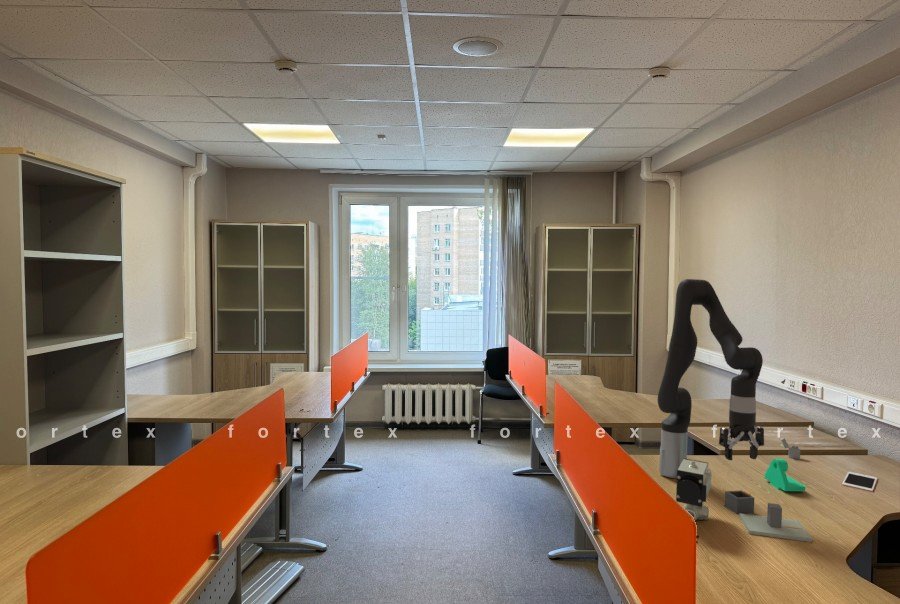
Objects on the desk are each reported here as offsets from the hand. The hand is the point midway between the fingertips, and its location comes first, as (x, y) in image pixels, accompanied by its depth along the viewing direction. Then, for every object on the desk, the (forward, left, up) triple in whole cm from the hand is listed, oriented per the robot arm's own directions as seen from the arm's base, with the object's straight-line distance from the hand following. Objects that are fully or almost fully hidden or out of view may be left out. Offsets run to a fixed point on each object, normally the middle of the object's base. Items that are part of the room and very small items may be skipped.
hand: (741, 459), depth 171 cm
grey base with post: (+7, -11, -17) cm, 21 cm away
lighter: (+33, +65, -17) cm, 75 cm away
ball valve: (-15, -11, -17) cm, 25 cm away
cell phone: (+49, +42, -17) cm, 67 cm away
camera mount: (+20, +27, -17) cm, 38 cm away
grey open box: (0, 0, -17) cm, 17 cm away
